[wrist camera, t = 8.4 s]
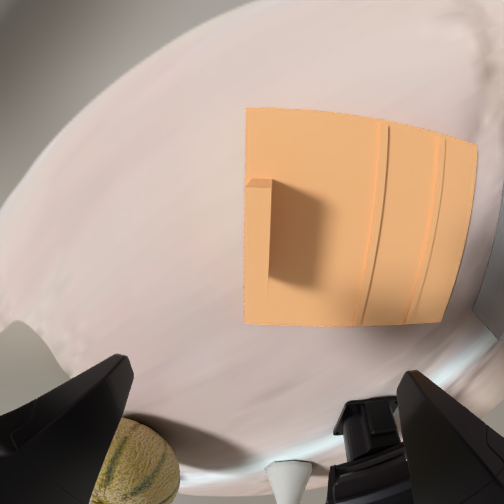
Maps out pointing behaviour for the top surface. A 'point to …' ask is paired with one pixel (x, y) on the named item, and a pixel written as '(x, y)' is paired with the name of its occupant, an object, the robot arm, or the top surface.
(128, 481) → the cantaloupe
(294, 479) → the flask
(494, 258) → the tub
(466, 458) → the robot arm
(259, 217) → the lid
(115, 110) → the top surface
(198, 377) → the top surface
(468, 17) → the top surface
